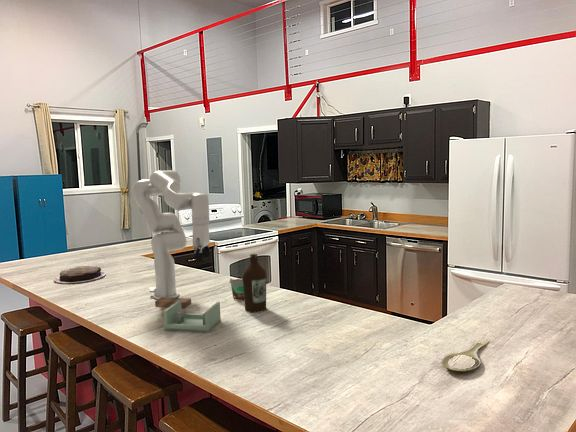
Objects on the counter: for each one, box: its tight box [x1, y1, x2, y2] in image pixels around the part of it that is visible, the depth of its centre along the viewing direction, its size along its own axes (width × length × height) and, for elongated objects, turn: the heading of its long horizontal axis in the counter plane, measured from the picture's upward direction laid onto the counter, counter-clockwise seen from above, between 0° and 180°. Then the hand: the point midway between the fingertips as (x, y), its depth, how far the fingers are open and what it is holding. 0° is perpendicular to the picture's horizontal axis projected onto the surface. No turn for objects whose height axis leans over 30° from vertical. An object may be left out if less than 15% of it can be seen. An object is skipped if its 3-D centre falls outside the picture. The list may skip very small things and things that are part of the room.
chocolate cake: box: [53, 265, 107, 285], centre depth 277 cm, size 28×28×7 cm
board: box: [154, 297, 192, 309], centre depth 205 cm, size 14×6×3 cm, turn 79°
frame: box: [163, 301, 221, 334], centre depth 191 cm, size 18×14×8 cm
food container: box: [229, 277, 245, 301], centre depth 226 cm, size 12×6×10 cm, turn 105°
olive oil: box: [241, 253, 267, 313], centre depth 209 cm, size 11×11×25 cm
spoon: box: [441, 338, 490, 372], centre depth 155 cm, size 35×11×2 cm, turn 141°
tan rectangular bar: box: [161, 307, 187, 316], centre depth 206 cm, size 10×3×4 cm, turn 79°
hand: (202, 259), depth 210 cm, fingers open, 9 cm apart
